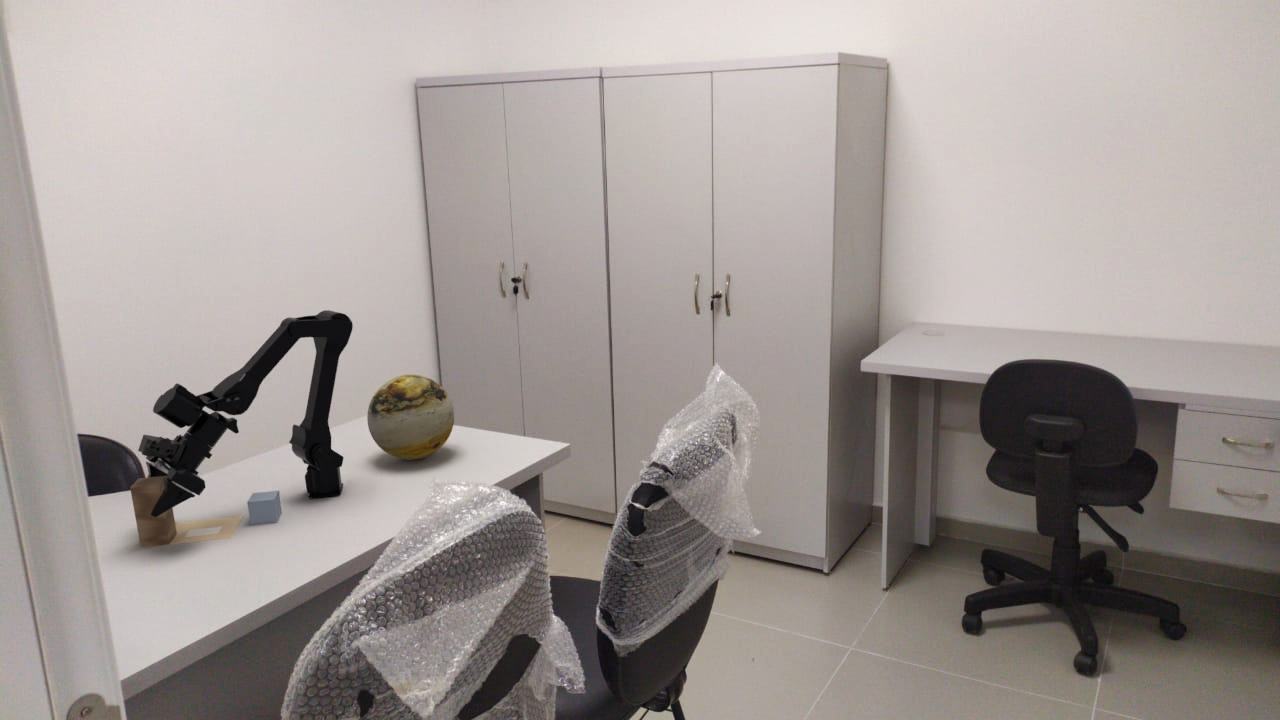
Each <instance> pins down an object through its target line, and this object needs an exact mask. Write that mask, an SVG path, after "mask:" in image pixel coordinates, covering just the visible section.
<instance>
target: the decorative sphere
mask: <svg viewBox="0 0 1280 720" xmlns="http://www.w3.org/2000/svg"><path fill="white" fill-rule="evenodd" d="M453 405H454V404H453V402H452V400H451V397H450V396H449V394H448V393H447V391H446V390H445V388H443V387H442V386H441V385H440V384H439V383H438V382H437V381H435V380H433V379H432V378H429V377H426V376H423V375H419V374H405V375H404V374H403V375H400V376H397V377H394V378H392V379H389V380H388V381H386V382H384V384H383V385H381V386H380V387H379V388H378V389H377V390H376V392H374V395H373V396H372V398H371V399H370V402H369V405H368V409H367V425H368V431H369V433H370V435H371V437H372V440H373V441H374V443H375V444H376V445H377V446H378V447H379V448H380V449H381V450H382V451H383V452H385V453H386V454H388V455H390V456H392V457H395V458H397V459H401V460H409V461H411V460H419V459H424V458H426V457H429V456H431V455H432V454H434V453H436V452H437V451H438V450H440V449H441V448H442V447H443V446H444V445H445V444H446V443H447V441H448V439H449V438H450V436H451V433H452V432H453V428H454V424H455V410H454V406H453Z"/></svg>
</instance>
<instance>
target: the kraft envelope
mask: <svg viewBox="0 0 1280 720" xmlns="http://www.w3.org/2000/svg"><path fill="white" fill-rule="evenodd" d="M243 518H244V515H240V516H239V515H238V516H228V517H220V518H212V519H200V520H192V521H184V522H183V521H182V522H175V526H176V532H177V534H176V536H175V537H174V539H173V540H172V541H171V543H170V544H168V545H167V546H169V545H178V544H186V543H196V542H206V541H215V540H222V539H232V537H233V534H235V531H236V530H237V528H238V526H239V524H240V522H241V521H242V519H243ZM161 546H162V545H159V546H158V547H161ZM151 547H153V546H150V547H149V548H151Z"/></svg>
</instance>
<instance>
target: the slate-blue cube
mask: <svg viewBox="0 0 1280 720" xmlns="http://www.w3.org/2000/svg"><path fill="white" fill-rule="evenodd" d="M246 504H247V507H248V508H247V509H248V518H249V524H250V526H256V525H266V524H276V523H278V522H279V520H280V518H281V516H282V514H283V511H282V505H281V497H280V490H272V491H271V490H270V491H260V492H252V494H251V495H250V497H249V498H248V500H247V503H246Z"/></svg>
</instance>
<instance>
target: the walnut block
mask: <svg viewBox="0 0 1280 720" xmlns="http://www.w3.org/2000/svg"><path fill="white" fill-rule="evenodd" d="M164 477H165V478H167V476H159V477H149V478H147V477H141V478H140V477H139V478H138V479H137V480H136V481H135V482H134V483H133V484H132V485H131V486H130V494H131V499H132V500H131V501H132V506H133V512H134V517H135V522H136V528H137V534H138V539H139V540H138V541H139V546H140V548H141V547H143V548H151V547H150V546H152V547H160V546H159V545H161V546H169V545H168V544H170V543H171V541H172V540H173V539H174V537H175V536H176V534H177V532H176V526H175V523H176V520H175V515H174V509H173V508H174V507H173V508H171V509H169V510H167V511H166V512H164V513H162V514H161V515H159V516H157V517H154V516H152V515H151V512H152V510H153V508H154V506H155V504H156V503H157V501H158V499H159V498H160V496H161V494H162V492H163V491H164V489H165V484H164ZM167 479H168V478H167ZM170 545H171V544H170Z"/></svg>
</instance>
